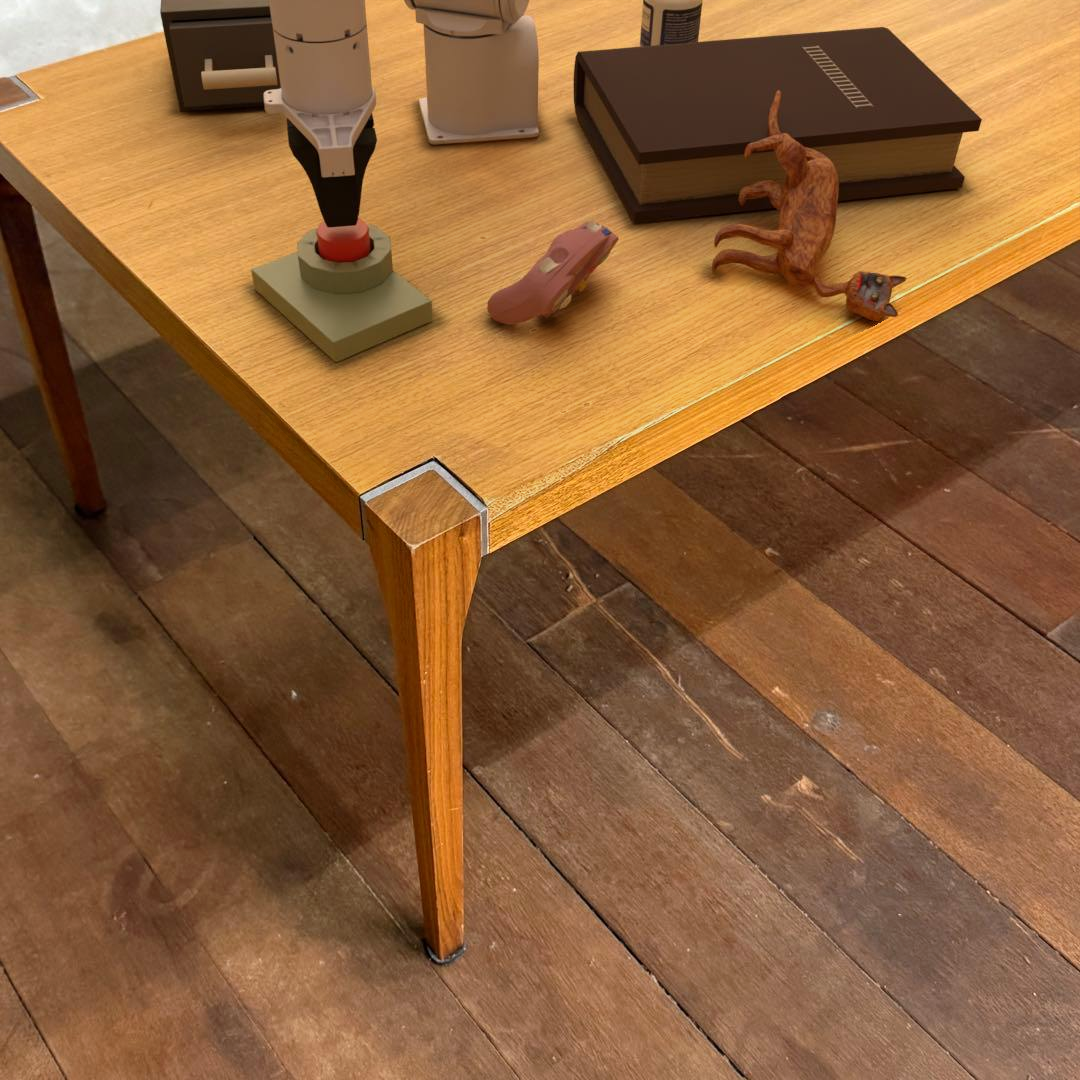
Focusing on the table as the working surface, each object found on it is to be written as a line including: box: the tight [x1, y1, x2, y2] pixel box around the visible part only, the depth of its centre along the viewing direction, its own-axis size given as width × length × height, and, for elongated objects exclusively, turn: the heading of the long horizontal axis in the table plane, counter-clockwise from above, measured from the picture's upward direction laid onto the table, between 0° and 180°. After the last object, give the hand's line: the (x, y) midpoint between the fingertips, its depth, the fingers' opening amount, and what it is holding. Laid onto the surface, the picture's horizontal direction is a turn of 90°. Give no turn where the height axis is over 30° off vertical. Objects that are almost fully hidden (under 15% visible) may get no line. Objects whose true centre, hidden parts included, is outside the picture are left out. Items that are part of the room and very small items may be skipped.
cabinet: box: [159, 0, 271, 112], centre depth 108 cm, size 13×12×9 cm
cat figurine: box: [711, 91, 907, 322], centre depth 89 cm, size 18×7×14 cm
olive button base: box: [250, 223, 433, 363], centre depth 85 cm, size 11×9×4 cm
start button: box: [316, 217, 370, 263], centre depth 85 cm, size 4×4×2 cm
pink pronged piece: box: [487, 218, 620, 325], centre depth 85 cm, size 10×5×7 cm, turn 148°
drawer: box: [169, 15, 281, 107], centre depth 106 cm, size 16×10×7 cm, turn 11°
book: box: [573, 26, 983, 224], centre depth 101 cm, size 28×20×6 cm
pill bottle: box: [639, 0, 704, 47], centre depth 111 cm, size 5×5×10 cm
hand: (341, 221), depth 84 cm, fingers closed
